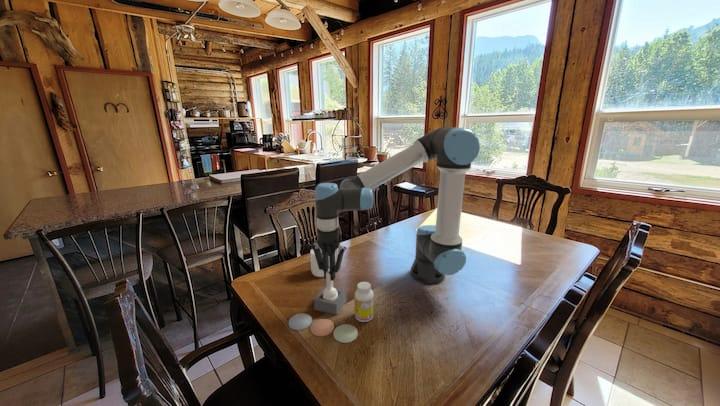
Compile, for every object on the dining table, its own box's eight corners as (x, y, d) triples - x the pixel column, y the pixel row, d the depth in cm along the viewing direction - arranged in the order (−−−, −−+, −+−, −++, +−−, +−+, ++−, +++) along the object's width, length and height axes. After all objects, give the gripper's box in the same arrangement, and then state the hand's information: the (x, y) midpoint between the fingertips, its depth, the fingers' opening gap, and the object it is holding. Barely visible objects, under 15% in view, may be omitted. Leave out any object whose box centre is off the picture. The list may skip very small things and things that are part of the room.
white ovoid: (340, 299, 109) (340, 284, 107) (334, 308, 104) (333, 293, 102) (327, 297, 111) (326, 282, 109) (320, 305, 106) (319, 290, 104)
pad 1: (316, 317, 101) (316, 316, 101) (304, 332, 94) (304, 331, 94) (296, 312, 104) (296, 311, 104) (283, 326, 97) (283, 325, 97)
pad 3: (361, 328, 96) (361, 327, 96) (352, 345, 89) (352, 344, 89) (339, 323, 99) (339, 322, 98) (329, 339, 91) (329, 338, 91)
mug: (315, 280, 125) (314, 257, 121) (308, 271, 132) (307, 249, 129) (340, 273, 130) (339, 251, 127) (332, 264, 138) (331, 243, 134)
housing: (346, 300, 111) (346, 290, 109) (336, 315, 102) (336, 304, 101) (325, 295, 114) (324, 286, 112) (314, 309, 105) (313, 299, 104)
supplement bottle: (354, 311, 105) (353, 280, 101) (372, 310, 105) (372, 279, 101) (355, 323, 98) (355, 291, 95) (374, 322, 99) (374, 290, 95)
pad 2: (338, 322, 99) (337, 321, 99) (327, 338, 91) (327, 337, 91) (317, 317, 101) (317, 316, 101) (305, 332, 94) (305, 331, 94)
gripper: (349, 226, 100) (350, 284, 107) (316, 221, 104) (318, 278, 111) (340, 234, 93) (342, 296, 100) (305, 229, 98) (309, 289, 104)
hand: (330, 286), depth 106 cm, fingers closed
